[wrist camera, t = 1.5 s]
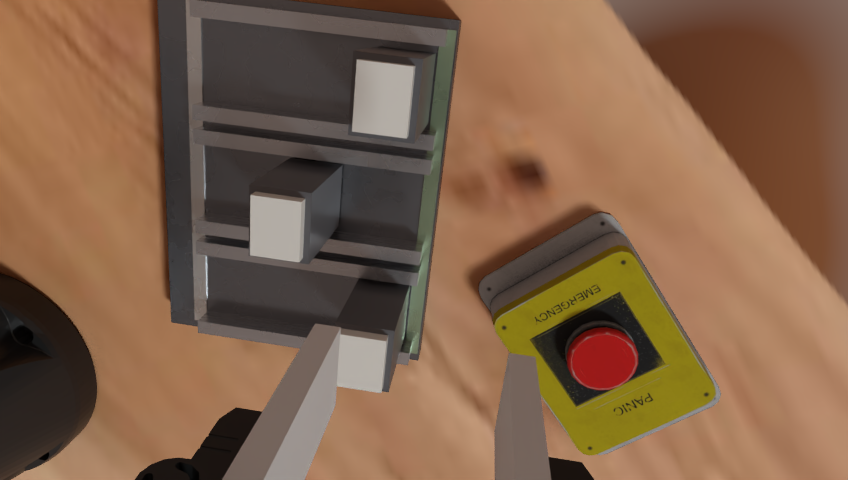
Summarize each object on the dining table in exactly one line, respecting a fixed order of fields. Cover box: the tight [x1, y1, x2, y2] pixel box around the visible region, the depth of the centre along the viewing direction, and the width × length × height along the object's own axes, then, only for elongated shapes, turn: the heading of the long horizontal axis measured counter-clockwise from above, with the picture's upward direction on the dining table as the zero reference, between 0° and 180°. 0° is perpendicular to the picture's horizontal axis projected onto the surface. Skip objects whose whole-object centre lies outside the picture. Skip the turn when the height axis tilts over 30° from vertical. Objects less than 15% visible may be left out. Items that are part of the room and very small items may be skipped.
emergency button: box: [479, 212, 721, 455], centre depth 35 cm, size 9×4×15 cm
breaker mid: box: [249, 158, 343, 264], centre depth 31 cm, size 3×4×7 cm
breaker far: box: [335, 278, 410, 393], centre depth 33 cm, size 3×4×7 cm
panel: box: [157, 0, 461, 365], centre depth 34 cm, size 16×20×3 cm
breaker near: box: [348, 46, 436, 144], centre depth 28 cm, size 3×4×7 cm
